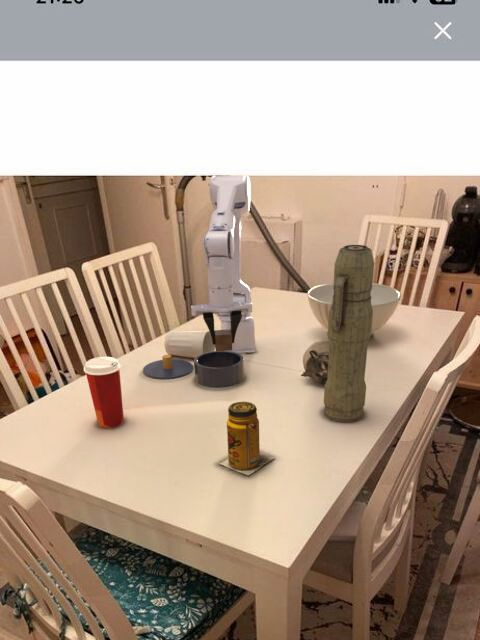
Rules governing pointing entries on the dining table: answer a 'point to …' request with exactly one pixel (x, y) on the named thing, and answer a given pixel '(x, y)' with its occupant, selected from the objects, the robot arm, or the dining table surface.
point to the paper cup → (105, 390)
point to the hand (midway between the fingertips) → (223, 342)
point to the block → (223, 340)
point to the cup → (188, 343)
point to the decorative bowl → (381, 300)
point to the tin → (219, 369)
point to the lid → (168, 368)
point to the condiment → (244, 439)
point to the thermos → (349, 334)
